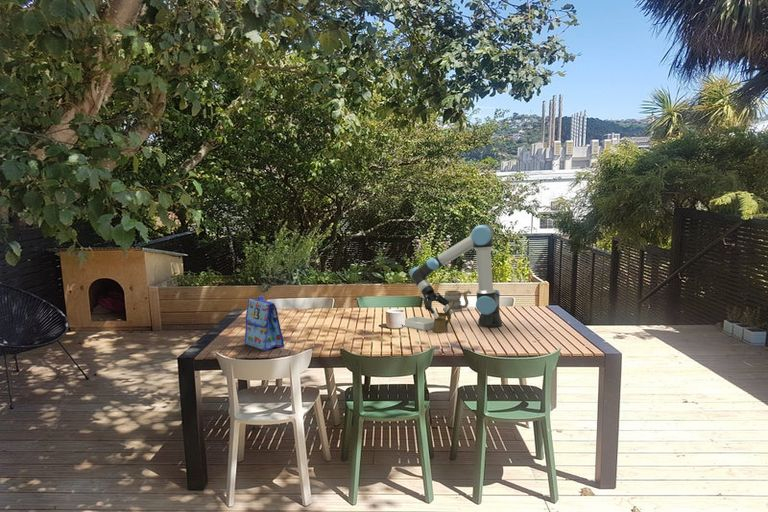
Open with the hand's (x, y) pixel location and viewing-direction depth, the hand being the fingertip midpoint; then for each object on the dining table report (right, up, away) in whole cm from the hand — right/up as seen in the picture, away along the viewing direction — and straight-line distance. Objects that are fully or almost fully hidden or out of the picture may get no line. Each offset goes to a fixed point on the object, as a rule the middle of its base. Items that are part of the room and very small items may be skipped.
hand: (444, 315), depth 328 cm
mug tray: (-14, -9, +16) cm, 23 cm away
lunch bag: (-105, -15, -22) cm, 108 cm away
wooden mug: (0, -10, +2) cm, 10 cm away
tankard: (+16, -4, +63) cm, 65 cm away
